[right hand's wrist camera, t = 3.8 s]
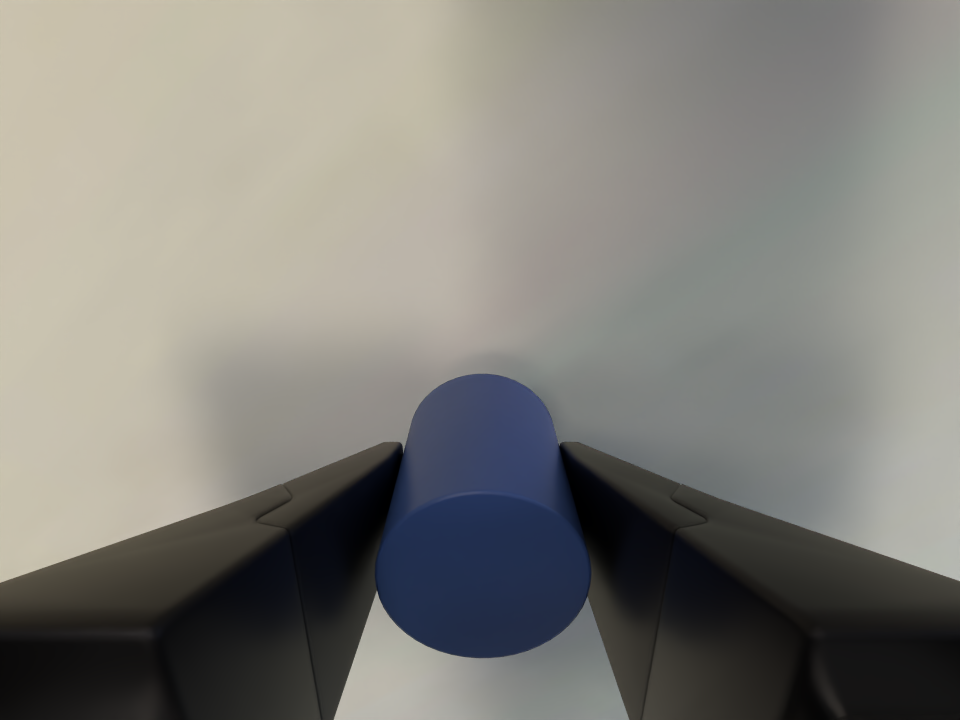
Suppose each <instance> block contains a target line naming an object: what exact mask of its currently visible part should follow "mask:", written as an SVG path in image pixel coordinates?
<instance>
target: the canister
mask: <svg viewBox="0 0 960 720" xmlns="http://www.w3.org/2000/svg"><path fill="white" fill-rule="evenodd" d="M591 575H592V572H591V561H590V557H589V553H588V549H587V546H586V542H585V538H584V535H583V531H582V527H581V524H580V520H579V517H578V513H577V509H576V506H575V502H574V498H573V495H572V491H571V488H570V484H569V480H568V477H567V473H566V469H565V466H564V462H563V458H562V455H561V451H560V448H559V444H558V440H557V437H556V433H555V429H554V426H553V422H552V419H551V416H550V414H549V412H548V410H547V408H546V407H545V405H544V403H543V402H542V401H541V400H540V399H539V397H538V396H537V395H536V394H534V393H533V392H532V391H531V390H530V389H528V388H527V387H526V386H524V385H522V384H520V383H519V382H517V381H515V380H512V379H509V378H507V377H503V376H498V375H492V374H472V375H466V376H462V377H458V378H455V379H452V380H450V381H448V382H446V383H444V384H442V385H440V386H439V387H437V388H436V389H434V390H433V391H432V392H431V393H430V394H429V395H428V396H427V397H425V399H424V400H423V401H422V402H421V404H420V405H419V407H418V409H417V410H416V412H415V414H414V417H413V419H412V423H411V426H410V430H409V434H408V438H407V442H406V446H405V450H404V453H403V457H402V461H401V465H400V469H399V473H398V477H397V480H396V484H395V488H394V492H393V496H392V500H391V504H390V508H389V511H388V515H387V519H386V523H385V527H384V531H383V535H382V538H381V542H380V546H379V550H378V554H377V558H376V562H375V583H376V588H377V592H378V595H379V598H380V601H381V603H382V605H383V607H384V609H385V610H386V612H387V613H388V615H389V616H390V618H391V619H392V620H393V621H394V622H395V624H396V625H397V626H398V627H399V628H401V629H402V630H403V631H404V632H405V633H406V634H408V635H409V636H411V637H412V638H413V639H415V640H416V641H418V642H420V643H422V644H424V645H426V646H428V647H430V648H433V649H435V650H438V651H441V652H444V653H448V654H451V655H456V656H462V657H471V658H495V657H504V656H509V655H514V654H518V653H522V652H525V651H528V650H531V649H533V648H535V647H538V646H540V645H542V644H544V643H546V642H547V641H549V640H551V639H552V638H554V637H555V636H557V635H558V634H560V633H561V632H562V631H563V630H564V629H565V628H566V627H568V626H569V625H570V623H571V622H572V621H573V620H574V619H575V618H576V616H577V615H578V613H579V612H580V610H581V609H582V607H583V605H584V603H585V601H586V598H587V596H588V592H589V588H590V584H591Z"/></svg>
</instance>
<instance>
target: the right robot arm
mask: <svg viewBox="0 0 960 720" xmlns="http://www.w3.org/2000/svg"><path fill="white" fill-rule="evenodd" d="M559 448H560V451H561V455H562V458H563V462H564V466H565V469H566V473H567V477H568V480H569V484H570V488H571V491H572V495H573V498H574V502H575V506H576V509H577V513H578V517H579V520H580V524H581V527H582V531H583V535H584V538H585V542H586V546H587V549H588V553H589V557H590V561H591V572H592V575H591V584H590V588H589V592H588V599H589V602H590V605H591V608H592V611H593V614H594V617H595V620H596V623H597V626H598V629H599V632H600V634H601V637H602V640H603V643H604V646H605V649H606V652H607V655H608V658H609V661H610V664H611V667H612V670H613V673H614V676H615V679H616V682H617V685H618V688H619V691H620V693H621V696H622V699H623V702H624V705H625V708H626V711H627V714H628V717H629V720H960V581H958V580H955V579H952V578H949V577H946V576H943V575H940V574H937V573H934V572H931V571H928V570H925V569H922V568H920V567H917V566H914V565H911V564H908V563H905V562H902V561H899V560H896V559H893V558H890V557H887V556H884V555H882V554H879V553H876V552H873V551H870V550H867V549H864V548H861V547H858V546H855V545H852V544H849V543H846V542H844V541H841V540H838V539H835V538H832V537H829V536H826V535H823V534H820V533H817V532H814V531H811V530H808V529H806V528H803V527H800V526H797V525H794V524H791V523H788V522H785V521H782V520H779V519H776V518H773V517H770V516H768V515H765V514H762V513H759V512H756V511H753V510H750V509H747V508H744V507H741V506H738V505H736V504H733V503H730V502H727V501H724V500H722V499H719V498H716V497H714V496H711V495H708V494H706V493H703V492H701V491H698V490H695V489H693V488H691V487H688V486H686V485H683V484H682V485H680V484H679V483H677V482H674V481H672V480H669V479H667V478H664V477H662V476H659V475H657V474H654V473H652V472H650V471H647V470H645V469H642V468H640V467H637V466H635V465H632V464H630V463H628V462H625V461H623V460H620V459H618V458H615V457H613V456H610V455H608V454H606V453H603V452H601V451H598V450H596V449H593V448H591V447H588V446H586V445H584V444H581V443H579V442H562V443H561V444H560V446H559ZM402 457H403V447H402V444H401V443H400V442H383V443H381V444H378V445H376V446H374V447H371V448H369V449H366V450H364V451H361V452H359V453H357V454H354V455H352V456H349V457H347V458H344V459H342V460H340V461H337V462H335V463H332V464H330V465H327V466H325V467H323V468H320V469H318V470H315V471H313V472H310V473H308V474H306V475H303V476H301V477H298V478H296V479H293V480H291V481H289V482H286V483H284V484H283V485H281V484H280V485H277V486H275V487H272V488H270V489H267V490H265V491H262V492H260V493H257V494H255V495H252V496H250V497H247V498H244V499H241V500H239V501H236V502H233V503H230V504H228V505H225V506H222V507H219V508H216V509H213V510H210V511H208V512H205V513H202V514H199V515H196V516H193V517H190V518H187V519H184V520H181V521H178V522H176V523H173V524H170V525H167V526H164V527H161V528H158V529H155V530H152V531H149V532H147V533H144V534H141V535H138V536H135V537H132V538H129V539H126V540H123V541H120V542H118V543H115V544H112V545H109V546H106V547H103V548H100V549H97V550H94V551H91V552H88V553H86V554H83V555H80V556H77V557H74V558H71V559H68V560H65V561H62V562H59V563H57V564H54V565H51V566H48V567H45V568H42V569H39V570H36V571H33V572H30V573H28V574H25V575H22V576H19V577H16V578H13V579H10V580H7V581H4V582H1V583H0V720H334V717H335V714H336V711H337V708H338V705H339V702H340V699H341V696H342V693H343V690H344V687H345V684H346V681H347V678H348V675H349V672H350V669H351V666H352V663H353V660H354V657H355V654H356V651H357V648H358V645H359V642H360V639H361V636H362V633H363V630H364V627H365V624H366V621H367V618H368V615H369V612H370V609H371V606H372V603H373V600H374V597H375V594H376V591H377V588H376V583H375V562H376V558H377V554H378V550H379V546H380V542H381V538H382V535H383V531H384V527H385V523H386V519H387V515H388V511H389V508H390V504H391V500H392V496H393V492H394V488H395V484H396V480H397V477H398V473H399V469H400V465H401V461H402Z"/></svg>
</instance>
